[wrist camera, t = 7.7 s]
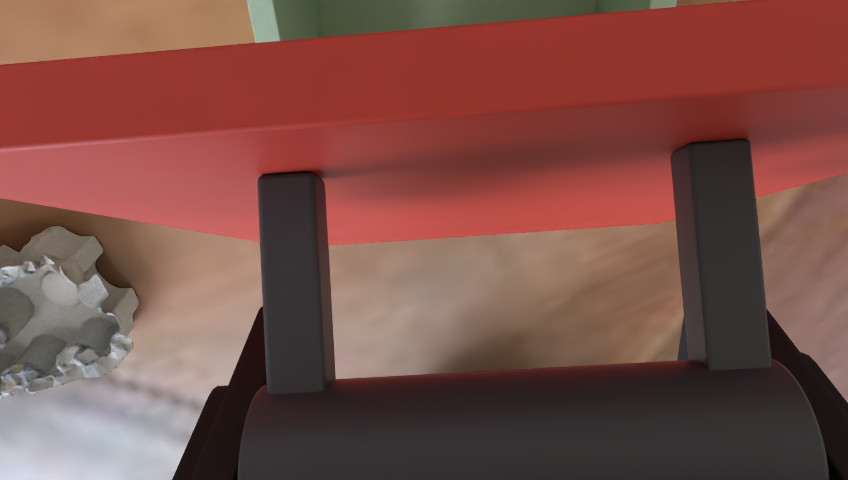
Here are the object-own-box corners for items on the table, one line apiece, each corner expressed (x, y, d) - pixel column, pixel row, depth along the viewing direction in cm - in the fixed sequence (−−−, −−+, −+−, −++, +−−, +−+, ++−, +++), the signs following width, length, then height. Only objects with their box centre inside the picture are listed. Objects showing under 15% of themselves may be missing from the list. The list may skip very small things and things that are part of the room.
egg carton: (88, 210, 31) (43, 253, 28) (163, 327, 35) (132, 378, 31) (-91, 264, 33) (-155, 311, 29) (-2, 370, 36) (-49, 423, 33)
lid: (-195, 79, 6) (-193, 687, 5) (1301, -51, 5) (1408, 642, 5) (292, 225, 22) (300, 378, 22) (658, 200, 21) (672, 357, 21)
